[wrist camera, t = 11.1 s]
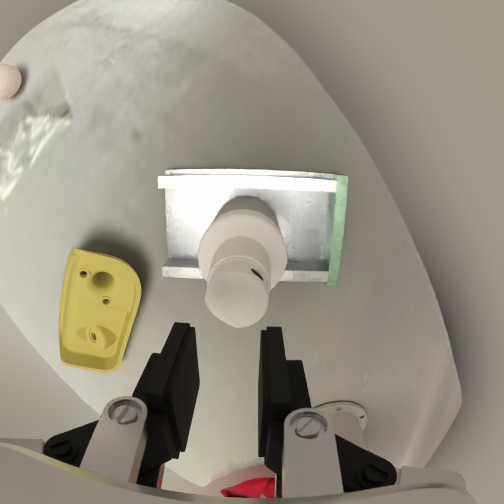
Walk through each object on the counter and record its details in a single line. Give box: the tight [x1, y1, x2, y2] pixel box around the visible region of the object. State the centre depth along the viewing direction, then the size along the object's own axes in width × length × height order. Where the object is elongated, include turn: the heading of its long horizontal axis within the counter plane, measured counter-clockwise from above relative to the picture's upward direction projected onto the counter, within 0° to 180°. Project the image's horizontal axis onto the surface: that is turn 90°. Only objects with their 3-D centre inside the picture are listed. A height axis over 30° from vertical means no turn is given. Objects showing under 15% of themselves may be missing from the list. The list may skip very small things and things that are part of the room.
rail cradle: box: [158, 169, 348, 286], centre depth 32 cm, size 12×19×4 cm, turn 89°
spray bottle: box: [198, 196, 287, 328], centre depth 25 cm, size 7×7×18 cm
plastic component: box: [59, 247, 141, 372], centre depth 36 cm, size 20×7×10 cm
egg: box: [0, 64, 21, 100], centre depth 24 cm, size 5×5×7 cm
